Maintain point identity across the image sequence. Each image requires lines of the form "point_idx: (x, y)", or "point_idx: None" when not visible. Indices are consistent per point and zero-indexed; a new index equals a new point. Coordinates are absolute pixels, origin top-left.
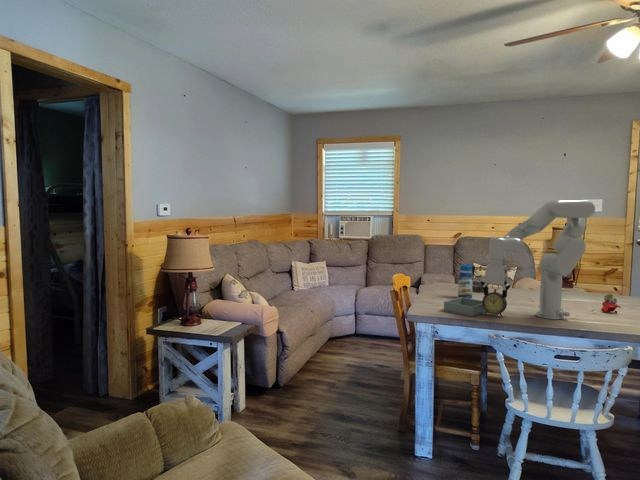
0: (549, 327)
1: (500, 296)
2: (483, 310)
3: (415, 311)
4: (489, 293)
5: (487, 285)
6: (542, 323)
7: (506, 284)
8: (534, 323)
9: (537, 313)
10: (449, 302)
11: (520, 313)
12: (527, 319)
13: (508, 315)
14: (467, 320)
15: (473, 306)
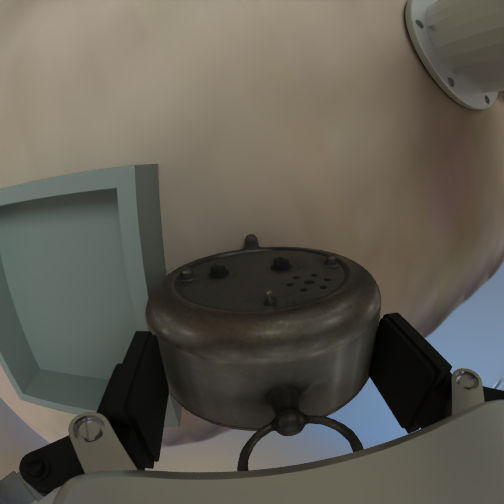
0: (490, 266)
1: (357, 390)
2: (160, 270)
3: (30, 422)
4: (230, 424)
5: (121, 449)
6: (475, 220)
7: (498, 403)
8: (455, 251)
9: (433, 58)
10: (40, 403)
11: (343, 52)
12: (424, 191)
13: (316, 172)
14: (211, 434)
15: (170, 416)
